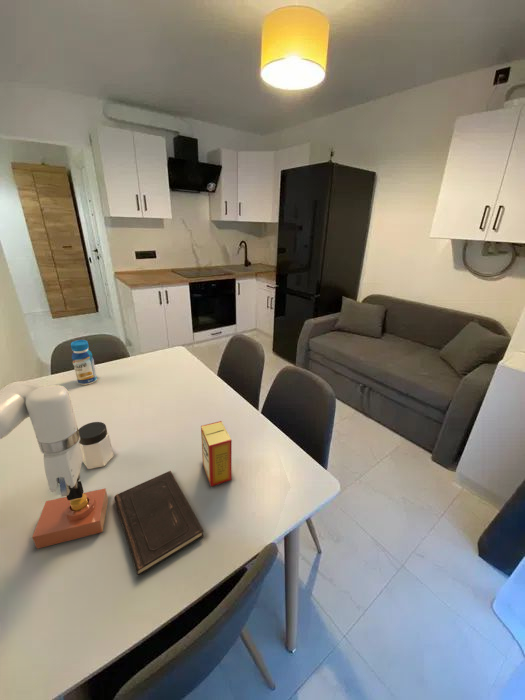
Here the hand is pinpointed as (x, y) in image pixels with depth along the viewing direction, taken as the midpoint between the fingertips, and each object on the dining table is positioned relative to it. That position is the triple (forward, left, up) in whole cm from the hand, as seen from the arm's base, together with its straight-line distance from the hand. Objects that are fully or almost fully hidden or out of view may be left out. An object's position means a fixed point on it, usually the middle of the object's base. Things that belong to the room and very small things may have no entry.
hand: (75, 496), depth 72 cm
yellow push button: (0, 0, -3) cm, 3 cm away
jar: (0, +22, -9) cm, 24 cm away
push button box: (-2, 0, -9) cm, 9 cm away
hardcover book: (+18, -5, -9) cm, 21 cm away
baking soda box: (+36, +6, -9) cm, 38 cm away
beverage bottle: (-13, +78, -9) cm, 79 cm away
